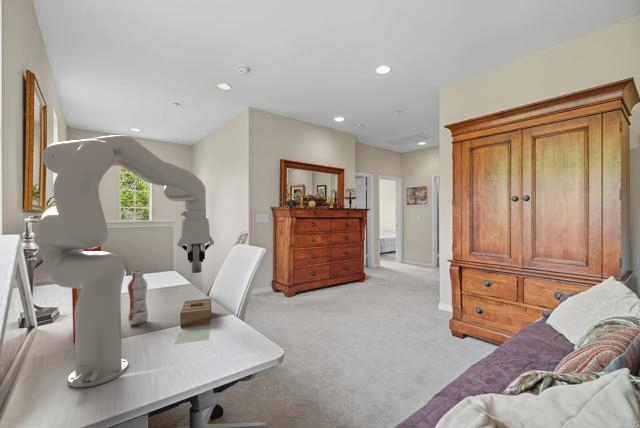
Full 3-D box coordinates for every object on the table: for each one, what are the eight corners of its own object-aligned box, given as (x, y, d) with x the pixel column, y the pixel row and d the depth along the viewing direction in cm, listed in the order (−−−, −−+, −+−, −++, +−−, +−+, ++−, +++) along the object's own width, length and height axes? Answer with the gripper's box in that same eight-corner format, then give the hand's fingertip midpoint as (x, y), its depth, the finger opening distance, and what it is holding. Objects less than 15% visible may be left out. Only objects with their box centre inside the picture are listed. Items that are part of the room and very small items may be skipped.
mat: (208, 340, 96) (208, 339, 96) (174, 345, 93) (174, 343, 93) (209, 329, 105) (209, 328, 105) (178, 333, 102) (178, 332, 102)
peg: (201, 272, 114) (200, 236, 114) (191, 273, 113) (190, 236, 113) (201, 270, 118) (201, 235, 118) (192, 271, 116) (191, 236, 116)
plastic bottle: (152, 320, 115) (151, 269, 115) (140, 327, 109) (139, 273, 109) (136, 320, 116) (136, 269, 116) (123, 327, 109) (123, 273, 109)
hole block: (210, 325, 109) (209, 309, 109) (180, 329, 106) (180, 312, 106) (211, 312, 124) (211, 298, 124) (185, 315, 121) (185, 300, 121)
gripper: (170, 215, 109) (171, 264, 109) (217, 214, 114) (218, 261, 114) (173, 215, 116) (174, 261, 116) (218, 214, 122) (218, 259, 122)
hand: (196, 261), depth 115 cm, fingers closed on peg, 3 cm apart
